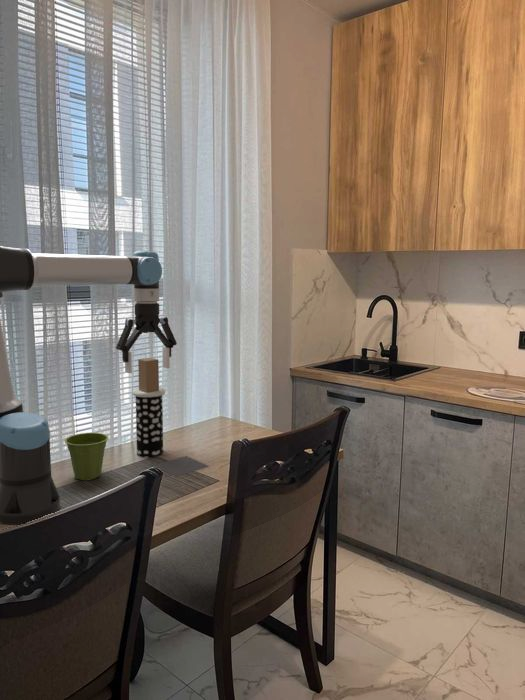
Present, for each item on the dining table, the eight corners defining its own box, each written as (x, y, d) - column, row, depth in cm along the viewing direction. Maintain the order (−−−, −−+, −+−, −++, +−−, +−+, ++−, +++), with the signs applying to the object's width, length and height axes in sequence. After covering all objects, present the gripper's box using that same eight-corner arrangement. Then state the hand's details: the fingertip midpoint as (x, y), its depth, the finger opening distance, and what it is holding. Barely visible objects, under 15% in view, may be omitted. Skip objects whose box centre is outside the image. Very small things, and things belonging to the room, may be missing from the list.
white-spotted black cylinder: (166, 450, 175) (165, 391, 172) (159, 459, 167) (157, 397, 164) (141, 449, 176) (140, 390, 173) (133, 458, 168) (131, 396, 165)
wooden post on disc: (143, 399, 162) (142, 363, 160) (126, 393, 169) (125, 359, 167) (171, 394, 169) (170, 359, 167) (154, 388, 176) (153, 355, 174)
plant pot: (116, 477, 153) (115, 439, 151) (76, 487, 145) (74, 448, 143) (99, 465, 161) (97, 429, 160) (59, 475, 154) (58, 437, 152)
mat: (176, 477, 153) (176, 476, 152) (153, 466, 161) (153, 465, 161) (209, 467, 161) (209, 466, 161) (186, 457, 169) (186, 455, 169)
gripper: (116, 304, 153) (117, 376, 156) (187, 302, 170) (187, 367, 173) (103, 302, 158) (105, 372, 162) (173, 300, 176) (174, 364, 179)
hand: (147, 370), depth 167 cm, fingers open, 13 cm apart
